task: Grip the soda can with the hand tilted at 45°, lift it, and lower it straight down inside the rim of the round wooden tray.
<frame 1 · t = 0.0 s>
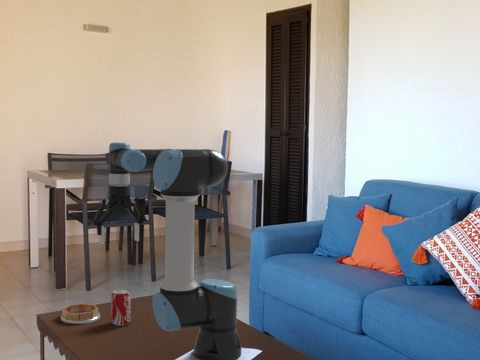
hand: (119, 242, 221), 28 cm above the table, tool pointing down, fingers open, 13 cm apart
round wooden tray: (80, 318, 221), on the table
soda can: (120, 324, 216), on the table
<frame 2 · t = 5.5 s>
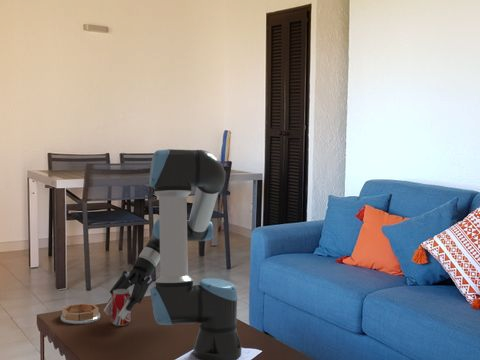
hand: (113, 315, 213), 4 cm above the table, tool tilted 45°, fingers closed on soda can, 7 cm apart
soda can: (120, 324, 216), on the table, touching gripper
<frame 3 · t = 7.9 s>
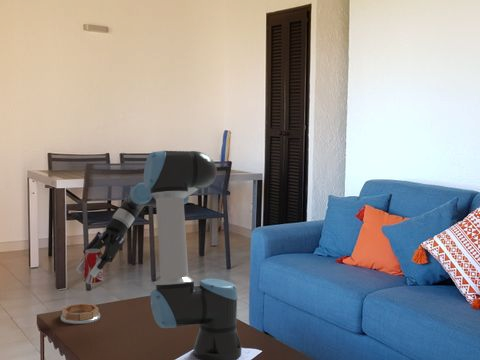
hand: (85, 273, 216), 17 cm above the table, tool tilted 45°, fingers closed on soda can, 7 cm apart
soda can: (93, 282, 220), point 13 cm above the table, touching gripper
when the fingers open (6 cm above the table, at t = 10.6 s): soda can stays where it is, resting on round wooden tray.
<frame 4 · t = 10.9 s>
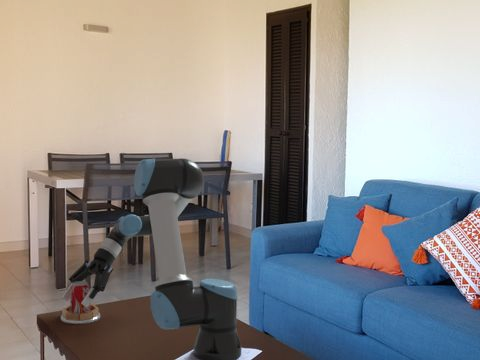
hand: (73, 302, 218), 7 cm above the table, tool tilted 45°, fingers open, 10 cm apart
soda can: (80, 315, 221), point 1 cm above the table, touching round wooden tray
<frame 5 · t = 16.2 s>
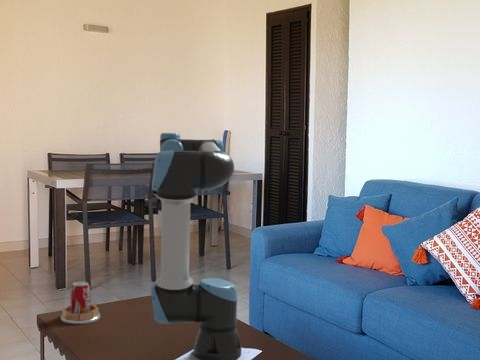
hand: (169, 230, 227), 32 cm above the table, tool pointing down, fingers open, 13 cm apart
nothing on the table moved.
at the end: soda can 0.1 cm off-centre on the round wooden tray, point 0.8 cm above the round wooden tray's base; soda can tilted 0°; the gripper is holding nothing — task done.
